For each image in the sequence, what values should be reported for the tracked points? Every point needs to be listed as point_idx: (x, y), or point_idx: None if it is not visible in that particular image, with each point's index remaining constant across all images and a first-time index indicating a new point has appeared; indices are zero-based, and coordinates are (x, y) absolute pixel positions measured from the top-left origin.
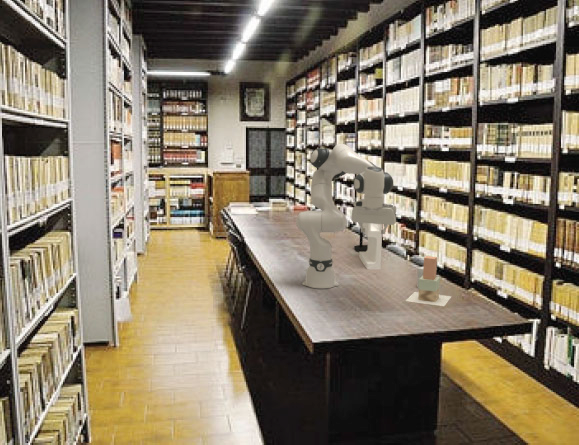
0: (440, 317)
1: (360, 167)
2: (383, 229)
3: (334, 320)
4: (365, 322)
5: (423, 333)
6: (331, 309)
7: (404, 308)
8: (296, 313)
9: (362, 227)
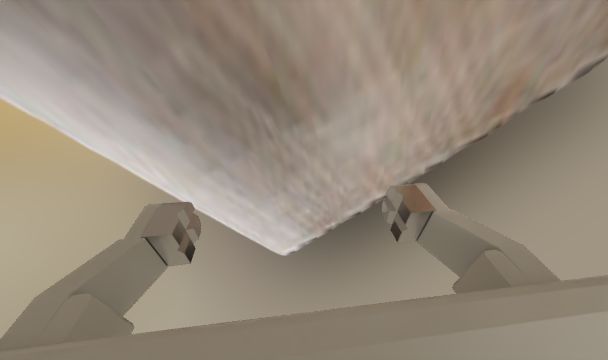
0: (452, 92)
1: None
2: (430, 250)
3: (265, 199)
4: (314, 185)
5: None
6: (224, 155)
7: (373, 61)
8: None
9: (144, 267)
